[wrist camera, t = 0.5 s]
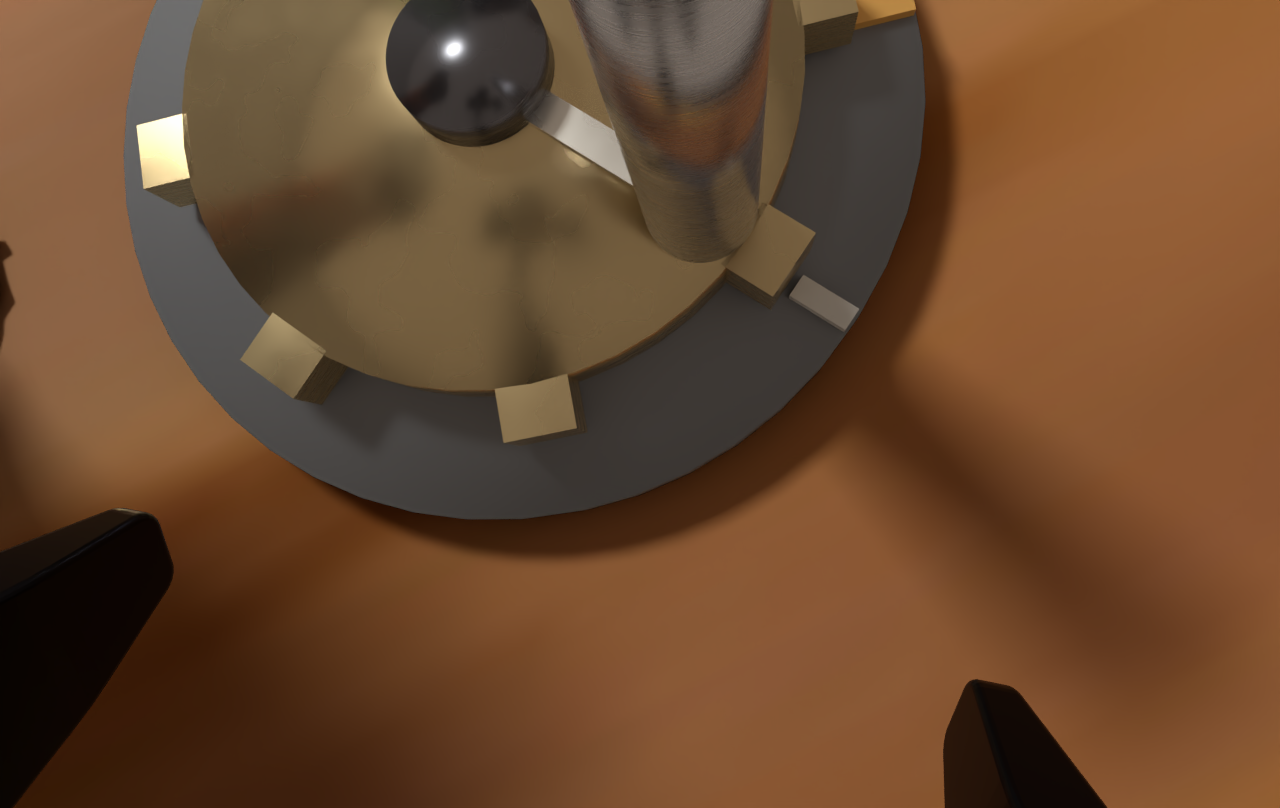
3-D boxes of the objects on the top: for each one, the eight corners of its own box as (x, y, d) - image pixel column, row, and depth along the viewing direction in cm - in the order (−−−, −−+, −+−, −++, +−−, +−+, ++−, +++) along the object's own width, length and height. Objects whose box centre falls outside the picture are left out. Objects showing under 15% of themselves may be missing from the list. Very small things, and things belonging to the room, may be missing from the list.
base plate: (1047, 350, 22) (1074, 338, 20) (265, 627, 24) (228, 638, 22) (744, -342, 26) (745, -404, 24) (85, -51, 28) (41, -88, 26)
